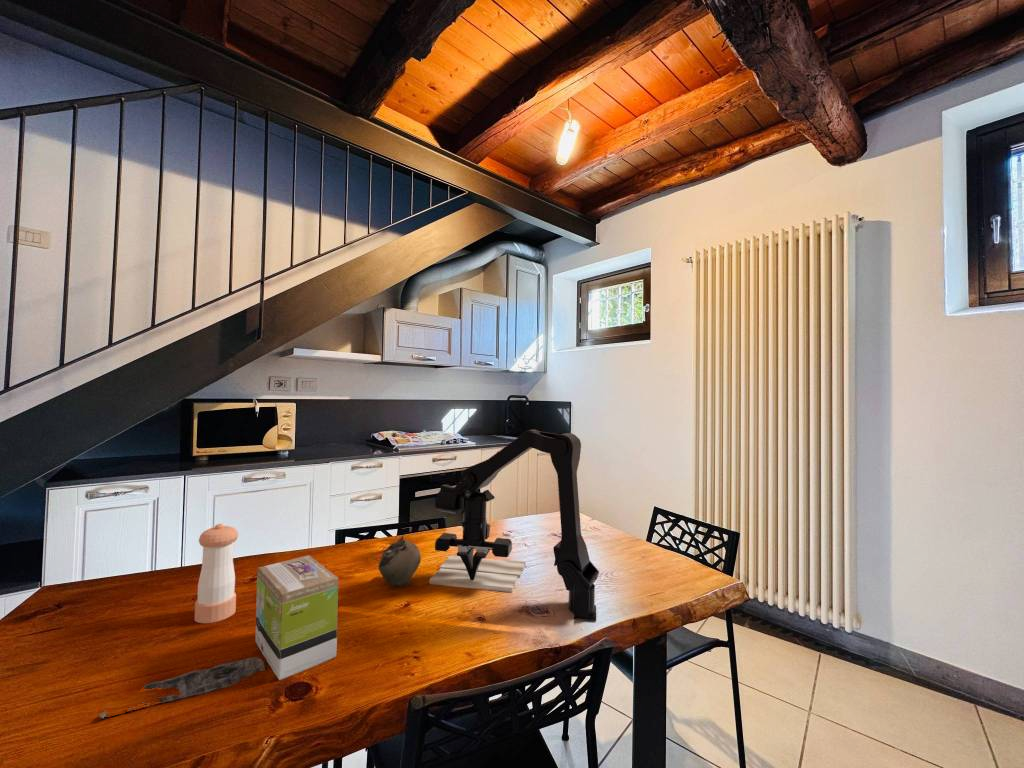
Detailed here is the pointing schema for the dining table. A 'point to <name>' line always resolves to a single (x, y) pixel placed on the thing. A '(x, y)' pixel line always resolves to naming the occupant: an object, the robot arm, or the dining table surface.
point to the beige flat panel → (487, 566)
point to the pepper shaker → (216, 575)
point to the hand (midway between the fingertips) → (472, 579)
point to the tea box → (296, 615)
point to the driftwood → (207, 679)
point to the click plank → (475, 580)
